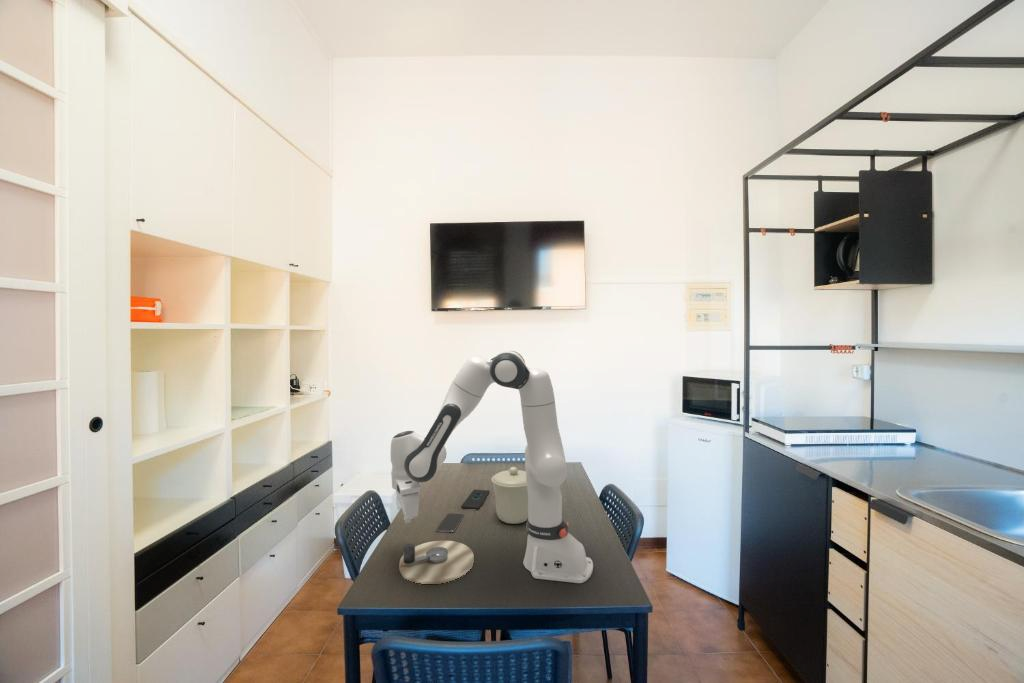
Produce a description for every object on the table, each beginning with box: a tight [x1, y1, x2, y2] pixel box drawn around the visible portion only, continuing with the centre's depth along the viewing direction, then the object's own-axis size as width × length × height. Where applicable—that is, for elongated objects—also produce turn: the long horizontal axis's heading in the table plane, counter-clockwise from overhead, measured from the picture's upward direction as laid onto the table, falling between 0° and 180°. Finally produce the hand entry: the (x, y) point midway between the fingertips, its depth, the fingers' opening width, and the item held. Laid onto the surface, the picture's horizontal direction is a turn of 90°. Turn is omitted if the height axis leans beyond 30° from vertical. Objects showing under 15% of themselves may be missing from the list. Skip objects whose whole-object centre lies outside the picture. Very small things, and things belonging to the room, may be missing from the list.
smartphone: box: [435, 512, 465, 534], centre depth 165 cm, size 7×1×16 cm
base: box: [398, 540, 475, 585], centre depth 136 cm, size 24×24×2 cm
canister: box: [490, 466, 528, 525], centre depth 169 cm, size 18×18×21 cm
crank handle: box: [402, 543, 448, 566], centre depth 135 cm, size 14×7×6 cm, turn 113°
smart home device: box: [460, 489, 491, 511], centre depth 188 cm, size 8×2×20 cm
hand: (407, 521), depth 139 cm, fingers closed
